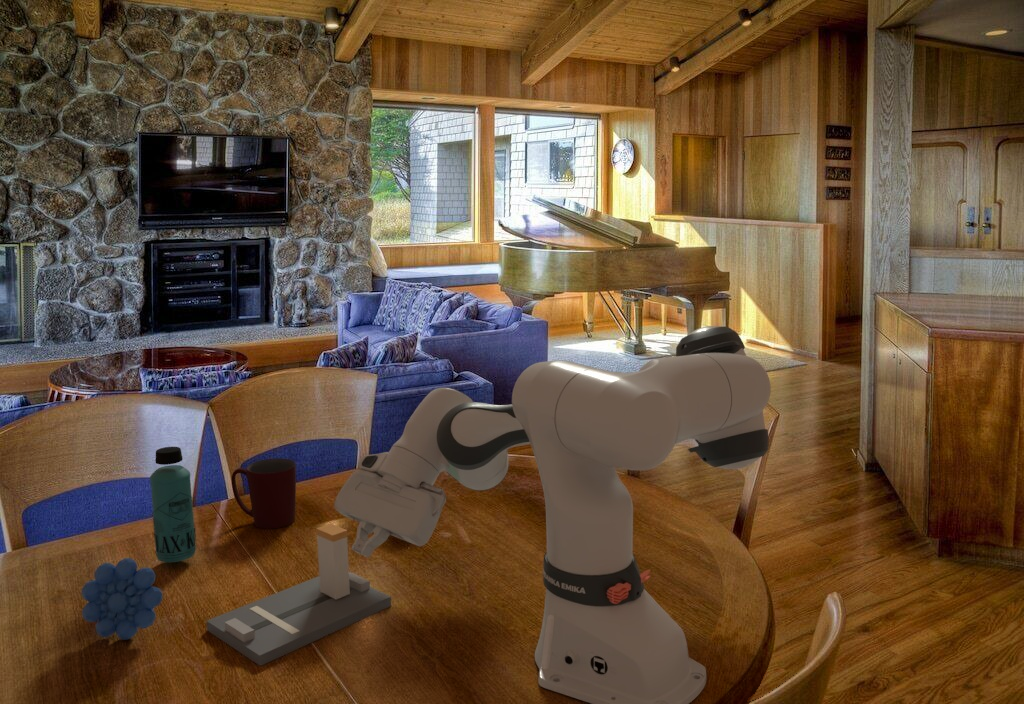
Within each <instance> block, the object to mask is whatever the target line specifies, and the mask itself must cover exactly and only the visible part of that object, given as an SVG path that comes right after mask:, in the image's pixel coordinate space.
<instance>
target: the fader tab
mask: <svg viewBox="0 0 1024 704" xmlns="http://www.w3.org/2000/svg"><path fill="white" fill-rule="evenodd" d="M315 531H316V536H317V537H316V539H317V540H316V541H317V559H318V576H319V577H320V592H322V593H324V594H326V595H328V596H330V597H332V598H334V599H336V600H337V599H339V598H341V597H344V596H346V595H348V594H350V585H349V572H350V571H349V567H350V566H349V550H348V549H349V548H348V530H347V529H345V528H342V527H340V526H338V525H335V524H334V523H328V524H325V525H322V526H320V527H316V529H315Z"/></svg>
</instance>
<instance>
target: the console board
mask: <svg viewBox="0 0 1024 704" xmlns="http://www.w3.org/2000/svg"><path fill="white" fill-rule="evenodd" d="M349 585H350V594H348V595H346V596H344V597H341V598H339V599H337V600H336V599H334V598H332V597H330V596H328V595H326V594H324V593H322V592H320V577H319V575H318V576H315V577H313V578H311V579H308V580H305V581H302V582H300V583H298V584H295V585H293V586H289V587H288V588H285V589H283V590H280V591H278V592H275V593H273V594H271V595H268V596H266V597H263V598H260V599H257V600H255V601H252V602H250V603H248V604H245V605H243V606H240V607H237V608H234V609H233V610H230V611H227V612H225V613H222V614H219V615H217V616H214V617H212V618H209V619H207V620H206V629H207V630H206V631H208V632H209V633H210V634H212V635H213V636H215V637H216V638H218V639H220V640H221V641H223V643H225V644H227V645H228V646H230V647H231V648H233V649H234V650H236V651H237V652H239V653H240V654H242V655H243V656H245V657H246V658H248V659H249V660H250V661H252V662H254V663H256V665H258V666H260V667H261V666H263V665H266V664H269V663H270V662H272V661H275V660H277V659H279V658H281V657H283V656H285V655H288V654H290V653H292V652H295V651H297V650H299V649H301V648H303V647H305V646H308V645H310V644H312V643H313V642H316V641H318V640H321V639H322V638H325V637H326V636H328V634H329V635H331V634H333V633H336V632H338V631H340V630H342V629H344V628H347V627H349V626H350V625H353V624H355V623H357V622H359V621H362V620H363V619H366V618H368V617H370V616H373V615H375V614H377V613H379V612H381V611H383V610H385V609H387V608H390V607H392V596H390V595H389V594H387V593H384V592H382V591H380V590H378V589H376V588H374V587H371V583H370V580H368V579H366V578H364V577H362V576H359V575H358V574H356V573H353V572H351V571H349ZM337 630H338V631H337ZM335 631H336V632H335ZM324 636H325V637H324Z"/></svg>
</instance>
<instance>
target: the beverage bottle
mask: <svg viewBox="0 0 1024 704" xmlns="http://www.w3.org/2000/svg"><path fill="white" fill-rule="evenodd" d="M183 460H184V459H183V454H182V450H181V447H179V446H165V447H161V448H158V449H156V451H155V459H154V461H155V464H157V465H159V466H160V465H161V467H158V468H156V469H155V471H153V473H151V475H150V476H149V482H150V488H151V489H150V490H151V491H150V492H151V503H152V504H151V505H152V513H151V515H152V527H153V532H152V533H153V538H154V539H153V540H154V546H155V547H154V548H155V557H156V558H157V560H158V561H160V562H162V563H177V562H183V561H185V560H187V559H190V558H192V557H193V556H194V555H195V554H196V550H197V545H196V540H197V536H196V527H195V519H194V516H195V515H194V514H195V513H194V506H193V504H194V503H193V497H192V488H191V487H192V486H191V472H190V470H188V469H187V468H186V467H184V466H182V465H180V464H178V463H180V462H182V461H183ZM163 465H164V466H163Z"/></svg>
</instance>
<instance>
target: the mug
mask: <svg viewBox="0 0 1024 704" xmlns="http://www.w3.org/2000/svg"><path fill="white" fill-rule="evenodd" d="M296 465H297V464H296V461H294V460H292V459H290V458H289V459H288V458H280V457H279V458H267V459H261V460H257V461H255V462H251V463H250V464H248V465H246V468H243V467H239V468H236V469H234V471H233V472H232V474H231V486H232V492H233V496H234V499H235V500H236V503H237V504H238V506H239V508H240V509H241V510H242V511H243V512H244V513H245V514H246V515H248V516H249V517H251V518H253V524H254V526H255V527H258V528H260V529H267V530H268V529H269V530H270V529H278V528H283V527H287V526H289V525H291V524H293V523H294V522H295V520H296V501H297V499H296V495H297V493H296V492H297V468H296ZM237 474H243V475H244V476H246V479H247V486H248V493H249V498H250V505H251V508H249V507H247V505H246V504H245V503H244V502H243V499H241V495H240V494H239V491H238V487H237V482H236V475H237Z"/></svg>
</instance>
